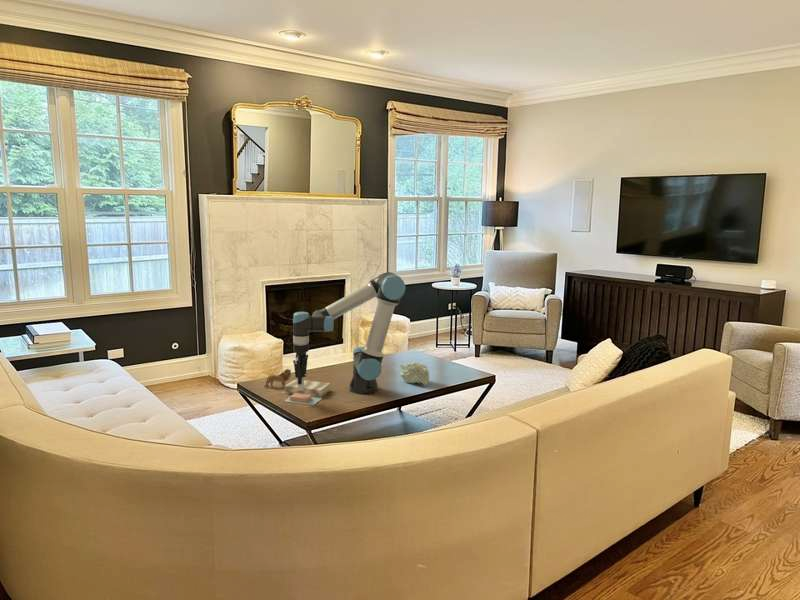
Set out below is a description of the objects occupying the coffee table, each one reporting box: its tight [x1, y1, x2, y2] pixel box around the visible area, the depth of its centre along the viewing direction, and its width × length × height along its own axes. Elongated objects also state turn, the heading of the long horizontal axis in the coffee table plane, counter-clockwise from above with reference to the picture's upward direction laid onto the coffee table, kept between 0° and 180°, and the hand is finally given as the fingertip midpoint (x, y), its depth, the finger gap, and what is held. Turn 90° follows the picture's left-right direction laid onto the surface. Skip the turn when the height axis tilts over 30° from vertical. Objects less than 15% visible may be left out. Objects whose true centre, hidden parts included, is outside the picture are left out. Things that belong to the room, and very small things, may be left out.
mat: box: [283, 396, 323, 406], centre depth 289 cm, size 16×11×1 cm
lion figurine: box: [263, 368, 292, 389], centre depth 308 cm, size 15×5×9 cm, turn 118°
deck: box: [284, 378, 331, 398], centre depth 301 cm, size 20×12×4 cm, turn 75°
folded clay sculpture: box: [399, 361, 430, 387], centre depth 321 cm, size 18×13×16 cm
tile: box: [289, 393, 312, 403], centre depth 289 cm, size 9×6×2 cm, turn 75°
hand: (300, 389), depth 288 cm, fingers closed
